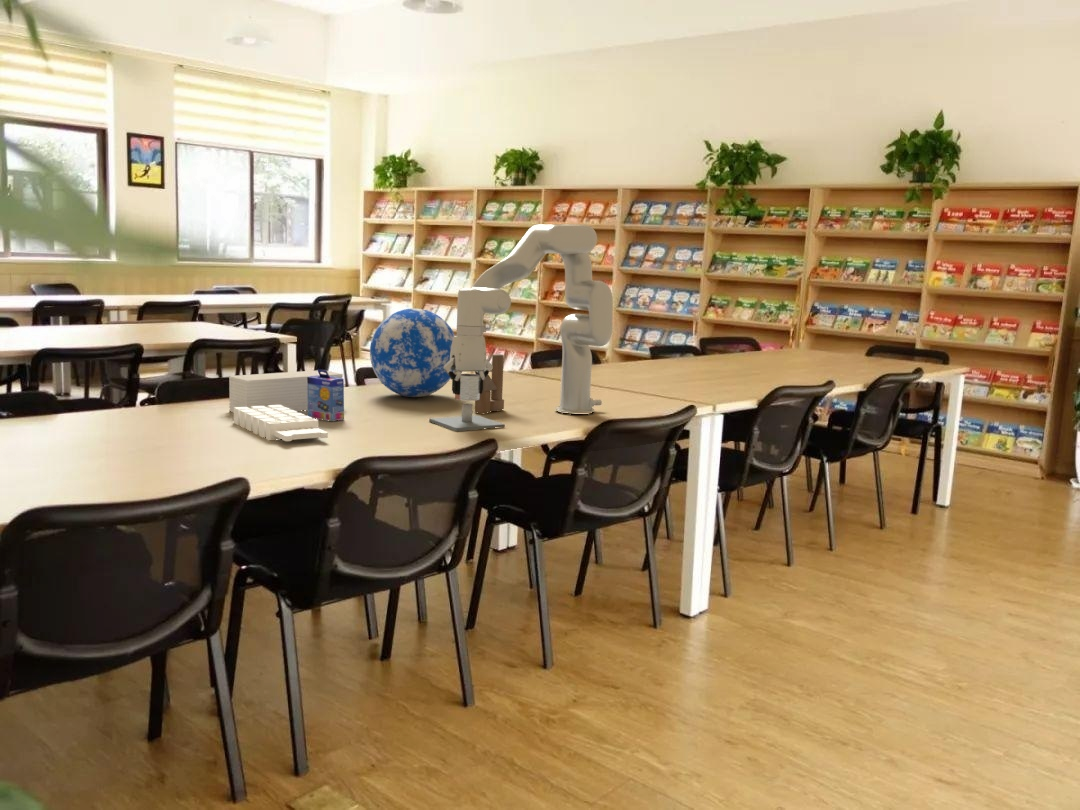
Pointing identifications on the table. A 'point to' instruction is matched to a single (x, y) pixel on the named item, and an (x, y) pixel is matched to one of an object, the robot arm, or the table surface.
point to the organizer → (277, 423)
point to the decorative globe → (412, 352)
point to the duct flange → (466, 421)
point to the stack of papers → (272, 389)
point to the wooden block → (492, 388)
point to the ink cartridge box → (325, 397)
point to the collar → (469, 387)
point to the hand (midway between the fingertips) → (467, 393)
